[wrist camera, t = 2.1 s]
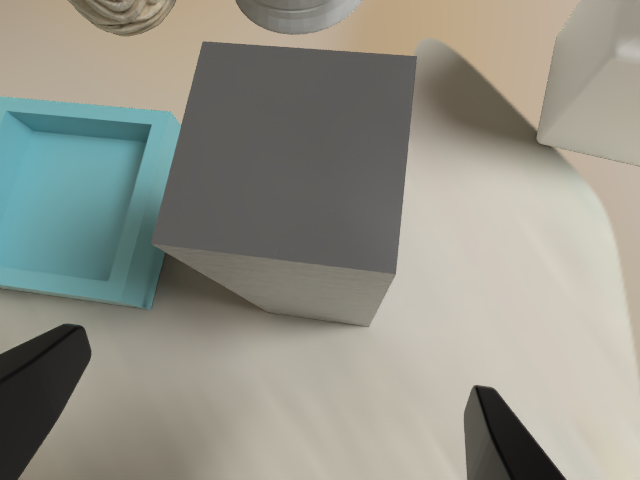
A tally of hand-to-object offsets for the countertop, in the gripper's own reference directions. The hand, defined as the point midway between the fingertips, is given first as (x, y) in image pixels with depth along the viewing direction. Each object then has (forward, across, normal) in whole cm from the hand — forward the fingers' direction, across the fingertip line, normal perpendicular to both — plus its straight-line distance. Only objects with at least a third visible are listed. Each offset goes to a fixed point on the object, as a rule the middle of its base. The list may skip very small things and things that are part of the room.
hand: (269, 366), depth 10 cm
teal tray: (+12, +13, +4) cm, 19 cm away
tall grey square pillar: (+11, 0, +5) cm, 12 cm away
